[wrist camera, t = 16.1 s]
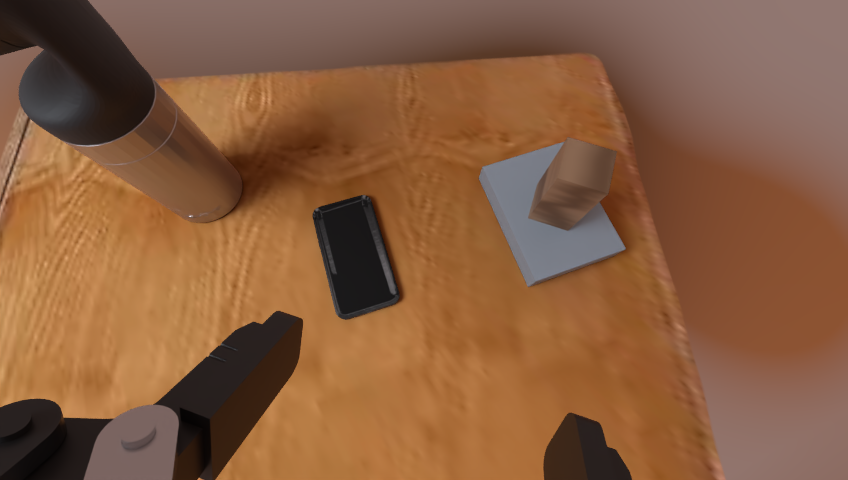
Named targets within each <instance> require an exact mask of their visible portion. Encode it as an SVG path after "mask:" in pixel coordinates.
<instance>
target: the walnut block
mask: <svg viewBox="0 0 848 480" xmlns="http://www.w3.org/2000/svg"><path fill="white" fill-rule="evenodd" d="M616 153H617V151H614V150H610V149H607V148H604V147H600V146H597V145H594V144H590V143H587V142H583V141H580V140H577V139H573V138H570V137H567V139H566V141H565V142H564V144H563V145H562V147H561V148H560V150H559V151H558V153H557V154H556V156H555V157H554V159H553V161H552V162H551V164H550V165H549V167H548V168H547V170H546V171H545V173H544V174H543V176H542V178H541V179H540V181H539V182H538V184H537V187H536V190H535V194H534V198H533V201H532V205H531V209H530V212H529V216H528V218H529V219H532V220H535V221H538V222H541V223H544V224H547V225H551V226H554V227H557V228H560V229H563V230H566V231H568V230H569V229H570V228H572V227H573V226H574V225H575V224H576V223H577V222H578V221H579V220H580V219H581V218H582V217H584V216H585V215H586V214H587V213H588V212H589V211H590V210H591V209H592V208H593V207H595V206H596V205H597V204H598V203H599V202H600V201H601V200H602V199H603V198H604V197H605V196H607V195H608V194H609V189H610V184H611V179H612V173H613V168H614V163H615V158H616Z"/></svg>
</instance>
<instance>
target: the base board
mask: <svg viewBox="0 0 848 480" xmlns="http://www.w3.org/2000/svg"><path fill="white" fill-rule="evenodd" d="M563 144H564V142H562V143H559V144H555V145H552V146H549V147H546V148H542V149H539V150H536V151H533V152H529V153H526V154H523V155H520V156H516V157H513V158H510V159H507V160H504V161H500V162H497V163H494V164H491V165H487V166H484V167H482V170H481V173H480V176H479V180H480V182H481V184H482V187H483V189H484V191H485V193H486V195H487V198H488V200H489V202H490V204H491V206H492V209H493V211H494V213H495V215H496V217H497V220H498V222H499V224H500V226H501V228H502V231H503V233H504V235H505V237H506V239H507V242H508V244H509V246H510V248H511V250H512V253H513V255H514V257H515V259H516V261H517V263H518V266H519V268H520V270H521V272H522V274H523V277H524V279H525V281H526V283H527V285H528V287H530V286H532V285H535V284H538V283H541V282H544V281H546V280H549V279H552V278H555V277H557V276H560V275H563V274H566V273H568V272H571V271H574V270H577V269H580V268H582V267H585V266H588V265H591V264H593V263H596V262H599V261H602V260H605V259H607V258H610V257H613V256H615V255H617V254H618V253H620V252H622V251H624V250H625V249H626V248H625V246H624V244H623V243H622V241H621V239H620V237H619V236H618V234H617V232H616V230H615V228H614V227H613V225H612V223H611V221H610V220H609V218H608V216H607V214H606V213H605V211H604V209H603V207H602V205H601V204H600V202H599V203H598V204H597V205H596V206H595V207H593V208H592V209H591V210H590V211H589V212H588V213H587V214H586V215H585V216H584V217H582V218H581V219H580V220H579V221H578V222H577V223H576V224H575V225H574V226H573V227H572V228H570V229H569V230H568V231H566V230H563V229H560V228H557V227H554V226H551V225H547V224H544V223H541V222H538V221H535V220H532V219H529V218H528V216H529V212H530V209H531V205H532V201H533V198H534V194H535V190H536V187H537V184H538V182H539V181H540V179H541V178H542V176H543V174H544V173H545V171H546V170H547V168H548V167H549V165H550V164H551V162H552V161H553V159H554V157H555V156H556V154H557V153H558V151H559V150H560V148H561V147H562V145H563Z"/></svg>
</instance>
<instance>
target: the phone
mask: <svg viewBox="0 0 848 480" xmlns="http://www.w3.org/2000/svg"><path fill="white" fill-rule="evenodd" d="M313 220H314V225H315V228H316V234H317V238H318V242H319V247H320V249H321V253H322V257H323V262H324V266H325V270H326V274H327V278H328V282H329V287H330V291H331V295H332V299H333V303H334V307H335V311H336V314H337V315H338V316H339V317H340V318H342V319H345V320H346V319H351V318H354V317H357V316H360V315H363V314H366V313H370V312H373V311H376V310H379V309H382V308H385V307H388V306H392V305H394V304H396V303H397V302H398V300H399V297H400V295H399V291H398V287H397V284H396V281H395V277H394V274H393V271H392V267H391V264H390V261H389V258H388V254H387V251H386V248H385V244H384V241H383V238H382V235H381V231H380V228H379V225H378V221H377V218H376V215H375V211H374V208H373V205H372V202H371V199H370V198H369V197H368V196H365V195H361V196H357V197H353V198H350V199H346V200H343V201H339V202H335V203H332V204H328V205H325V206H321V207H318V208H317V209H315V210H314V212H313Z"/></svg>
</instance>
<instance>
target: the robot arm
mask: <svg viewBox="0 0 848 480" xmlns="http://www.w3.org/2000/svg"><path fill="white" fill-rule="evenodd" d="M33 46H39V47H41V48H43V49H44V50H43V51H42V52H41V53H40V54H39V55H38V56H37V57H36V58H35V59H34V60H33V61H32V62H31V63H30V65H29V66H28V67H27V69H26V71H25V72H24V74H23V77H22V79H21V82H20V86H19V100H20V103H21V106H22V108H23V110H24V112H25V113H26V114H27V116H28V117H29V118H30V119H31V120H32V121H34V122H35V123H36V124H37V125H39V126H40V127H42V128H43V129H44V130H46V131H48V132H49V133H51V134H52V135H54V136H55V137H57V138H59V139H60V140H62V141H63V142H65V143H66V144H68V145H70V146H71V147H73V148H74V149H76V150H77V151H79V152H81V153H82V154H84V155H85V156H87V157H89V158H90V159H92V160H93V161H95V162H96V163H98V164H100V165H101V166H103V167H104V168H106V169H107V170H109V171H110V172H112V173H114V174H115V175H117V176H118V177H120V178H121V179H123V180H124V181H126V182H128V183H129V184H131V185H132V186H134V187H135V188H137V189H139V190H140V191H142V192H143V193H145V194H146V195H148V196H149V197H151V198H153V199H154V200H156V201H157V202H159V203H160V204H162V205H163V206H165V207H166V208H168V209H170V210H171V211H173V212H174V213H176V214H177V215H179V216H180V217H182V218H184V219H186V220H188V221H191V222H196V223H205V222H210V221H214V220H216V219H219V218H221V217H223V216H224V215H226V214H227V213H228V212H230V211H231V210H232V209H233V208H234V206H235V205H236V204H237V202H238V201H239V199H240V197H241V193H242V184H243V183H242V179H241V176H240V174H239V172H238V171H237V170H236V169H235V168H234V167H233V166H232V164H231V163H230V162H229V161H228V160H227V159H226V158H225V156H224V155H223V154H222V153H221V152H220V151H219V150H218V149H217V147H216V146H215V145H214V144H213V143H212V142H211V141H210V140H209V139H208V138H207V136H206V135H205V134H204V133H203V132H202V131H201V130H200V129H199V128H198V127H197V125H196V124H195V123H194V122H193V121H192V120H191V119H190V118H189V117H188V116H187V114H185V113H184V112H183V110H182V109H181V108H180V107H179V106H178V105H177V104H176V103H175V102H174V101H173V99H172V98H171V97H170V96H169V95H168V94H167V93H166V92H165V91H164V90H163V89H162V88H161V87H160V85H159V84H158V83H157V82H156V81H155V80H154V79H153V78H152V77H151V76H150V75H149V73H148V72H147V71H146V70H145V69H144V68H143V67H142V66H141V65H140V64H139V62H138V61H137V60H136V59H135V57H134V56H133V55H132V53H131V52H130V51H129V49H128V48H127V47H126V46H125V44H124V43H123V42H122V40H121V39H120V38H119V36H118V35H117V34H116V33H115V31H114V30H113V29H112V28H111V27H110V25H109V24H108V23H107V22H106V21H105V20H104V19H103V17H102V16H101V15H100V14H99V13H98V12H97V11H96V9H94V7H93V6H92V5H91V4H90V3H89V1H88V0H0V55H4V54H7V53H11V52H15V51H18V50H22V49H26V48H29V47H33ZM302 328H303V320H302V319H301V318H299V317H296V316H293V315H290V314H287V313H284V312H281V311H276V312H275V313H273V314H272V315H271V316H270V317H269V318H268V319H267V320H266V321H265V322H264V323H263V324H259V323H256V322H252V323H250V324H248V325H246V326H243V327H241V328H239V329H237V330H235V331H234V332H233V333H232V334H231V335H230V336H229V337H228V338H227V339H225V340H224V341H223V342H222V343H221V345H220V346H218V347H217V348H216V349H215V350H213V351H212V352H211V353H210V355H209V357H206V358H205V359H204V360H203V361H202V362H200V363H199V364H198V365H197V366H196V367H195V368H194V369H193V370H192V371H191V372H190V373H188V374H187V375H186V376H185V377H184V378H183V379H182V380H181V381H180V382H179V383H178V384H177V385H175V386H174V387H173V388H172V389H171V390H170V391H169V392H168V393H167V394H166V395H165V396H164V397H162V398H161V399H160V400H159V401H158V402H156V403H155V404H153V405H146V406H141V407H137V408H134V409H131V410H129V411H127V412H124V413H123V414H121V415H119V416H117V417H116V418H115V419H87V418H63V414H62V411H61V408H60V407H59V405H58V404H56V403H55V402H53V401H51V400H46V399H28V400H22V401H18V402H14V403H11V404H8V405H5V406H3V407H0V480H197V479H198V478H202V479H204V480H215V479H216V478H217V476H218V475H219V474H220V472H221V471H222V470H223V468H224V467H225V465H226V464H227V463H228V461H229V460H230V459H231V457H232V456H233V455H234V453H235V452H236V450H237V449H238V448H239V446H240V445H241V444H242V442H243V441H244V440H245V438H246V437H247V435H248V434H249V433H250V431H251V430H252V429H253V427H254V426H255V425H256V423H257V422H258V420H259V419H260V418H261V416H262V415H263V414H264V412H265V411H266V409H267V408H268V407H269V405H270V404H271V403H272V401H273V400H274V399H275V397H276V396H277V394H278V393H279V392H280V390H281V389H282V388H283V386H284V385H285V384H286V382H287V381H288V379H289V378H290V377H291V375H292V373H293V372H294V370H295V368H296V365H297V363H298V360H299V355H300V346H301V337H302ZM544 480H632V478H631V475H630V472H629V470H628V468H627V467H626V465H625V464H624V462H623V460H622V459H621V457H620V456H619V454H618V452H617V451H616V450H615V449H613V448H610V447H607V445H606V441H605V437H604V434H603V430H602V427H601V425H600V423H599V422H597V421H594V420H591V419H588V418H585V417H582V416H579V415H576V414H574V413H568V414H567V415H566V417H565V418H564V420H563V422H562V423H561V425H560V426H559V428H558V430H557V431H556V433H555V435H554V436H553V438H552V439H551V441H550V443H549V444H548V446H547V449H546V452H545V456H544Z"/></svg>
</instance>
